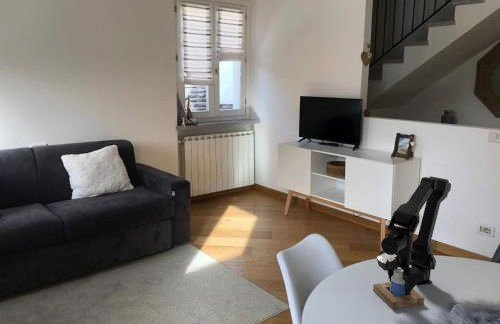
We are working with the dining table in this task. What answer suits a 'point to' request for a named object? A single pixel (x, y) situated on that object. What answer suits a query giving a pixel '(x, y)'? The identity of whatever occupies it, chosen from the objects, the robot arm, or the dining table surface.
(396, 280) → the pill bottle
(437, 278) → the dining table surface
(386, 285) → the socket block
